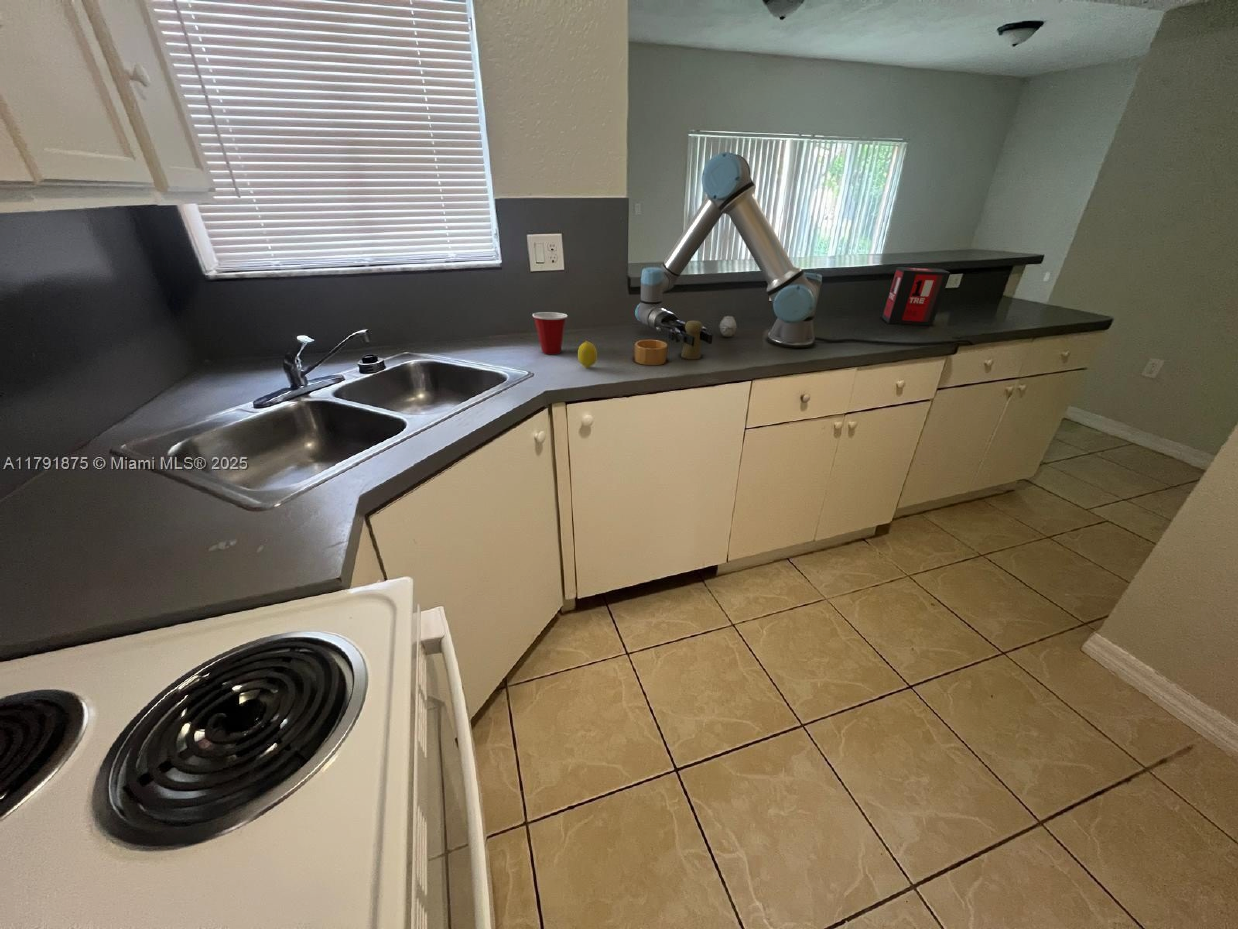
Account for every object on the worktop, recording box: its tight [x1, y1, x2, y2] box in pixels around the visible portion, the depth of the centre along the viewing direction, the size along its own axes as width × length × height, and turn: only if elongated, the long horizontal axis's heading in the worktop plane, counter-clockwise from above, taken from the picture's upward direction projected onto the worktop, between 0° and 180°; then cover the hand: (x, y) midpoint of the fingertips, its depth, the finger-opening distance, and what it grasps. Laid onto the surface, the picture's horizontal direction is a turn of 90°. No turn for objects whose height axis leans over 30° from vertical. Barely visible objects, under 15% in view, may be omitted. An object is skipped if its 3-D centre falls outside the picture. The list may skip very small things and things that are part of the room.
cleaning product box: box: [881, 266, 952, 327], centre depth 193 cm, size 16×9×20 cm, turn 80°
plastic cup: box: [532, 311, 568, 355], centre depth 153 cm, size 11×11×12 cm
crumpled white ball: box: [718, 315, 738, 338], centre depth 173 cm, size 6×7×7 cm
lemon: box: [577, 340, 598, 369], centre depth 141 cm, size 6×6×8 cm
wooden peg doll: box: [681, 320, 703, 360], centre depth 152 cm, size 6×6×11 cm
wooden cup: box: [634, 339, 669, 366], centre depth 149 cm, size 10×10×5 cm
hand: (702, 340), depth 147 cm, fingers open, 6 cm apart
